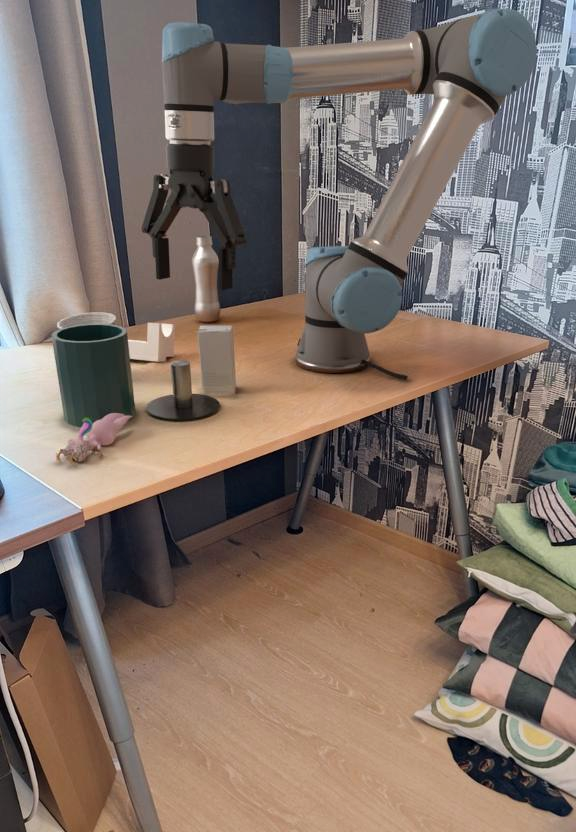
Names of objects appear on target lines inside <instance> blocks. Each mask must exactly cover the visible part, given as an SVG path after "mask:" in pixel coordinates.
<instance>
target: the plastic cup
mask: <svg viewBox="0 0 576 832" xmlns="http://www.w3.org/2000/svg"><path fill="white" fill-rule="evenodd" d="M116 322H117V318H116V315H115V314H112V313H110V312H102V311H99V312H98V311H97V312H96V311H94V312H93V311H92V312H84V313H79V314H78V313H77V314H74V315H70V316H67V317H65V318H62V319H60V320H59V321H57V323H56V328H57V329H58V330H59V329H62V328H65V327H69V326H75V325H83V324H112V325H116V324H115V323H116Z"/></svg>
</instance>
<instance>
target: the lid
mask: <svg viewBox="0 0 576 832" xmlns="http://www.w3.org/2000/svg"><path fill="white" fill-rule="evenodd" d="M170 372H171V373H170V374H171V386H172V394H168V395H163V396H159V397H157V398H155V399H152V400H151V401H150V402H148V403H147V404H146V407H145V409H146V413H147V415H148V416H150V417H151V418H154V419H157V420H160V421H167V422H193V421H198V420H203V419H206V418H209V417H212V416H214V415H215V414H216V413H219V411H220V410H221V403H220V401H219V400H218V399H217V398H215V397H212V396H210V395H208V394H207V395H206V394H203V393H202V394H201V393H193V390H192V373H191V362H190V361H189V360H185V359H179V360H178V359H177V360H173V361H170Z"/></svg>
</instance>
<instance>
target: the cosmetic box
mask: <svg viewBox="0 0 576 832" xmlns="http://www.w3.org/2000/svg"><path fill="white" fill-rule="evenodd" d="M197 343H198V352H199V367H200V379H201V391H202V392H201V393H202V395H206V394H207V395H235V394H236V391H237V379H236V360H235V340H234V326H233V325H199V328H198V331H197Z"/></svg>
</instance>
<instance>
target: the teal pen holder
mask: <svg viewBox="0 0 576 832" xmlns="http://www.w3.org/2000/svg"><path fill="white" fill-rule="evenodd" d="M128 337H129V336H128V329H127V328H125V327H123V326H122V325H117V324H114V325H112V324H83V325H75V326H69V327H65V328H62V329H59V328H58V329H57V330H54V332H52V333H51V342H52V348H53V354H54V361H55V368H56V374H57V380H58V381H57V382H58V385H59V386H58V387H59V393H60V401H61V406H62V412H63V419H64V421H65V423H67V424H68V425H71V426H72V427H76V428H81V427H82V426H83V424H84V422H82V420H83V419H84V418H89V419H90V420H91V421H92V424H93V423H94V422H96V421H97V420H101V419H103V418H104V417H105V416H106V415H108V414H111V413H120V414H124V415H125V416H128V415H129V416H132V418H129V419H128V420H127V422H129V421H131V420H133V419H134V418H135V416H136V415H137V414H136V404H135V403H136V402H135V396H134V395H135V393H134V385H133V377H132V368H131V367H132V365H131V359H130V355H129V346H128V340H129V338H128Z"/></svg>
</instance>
